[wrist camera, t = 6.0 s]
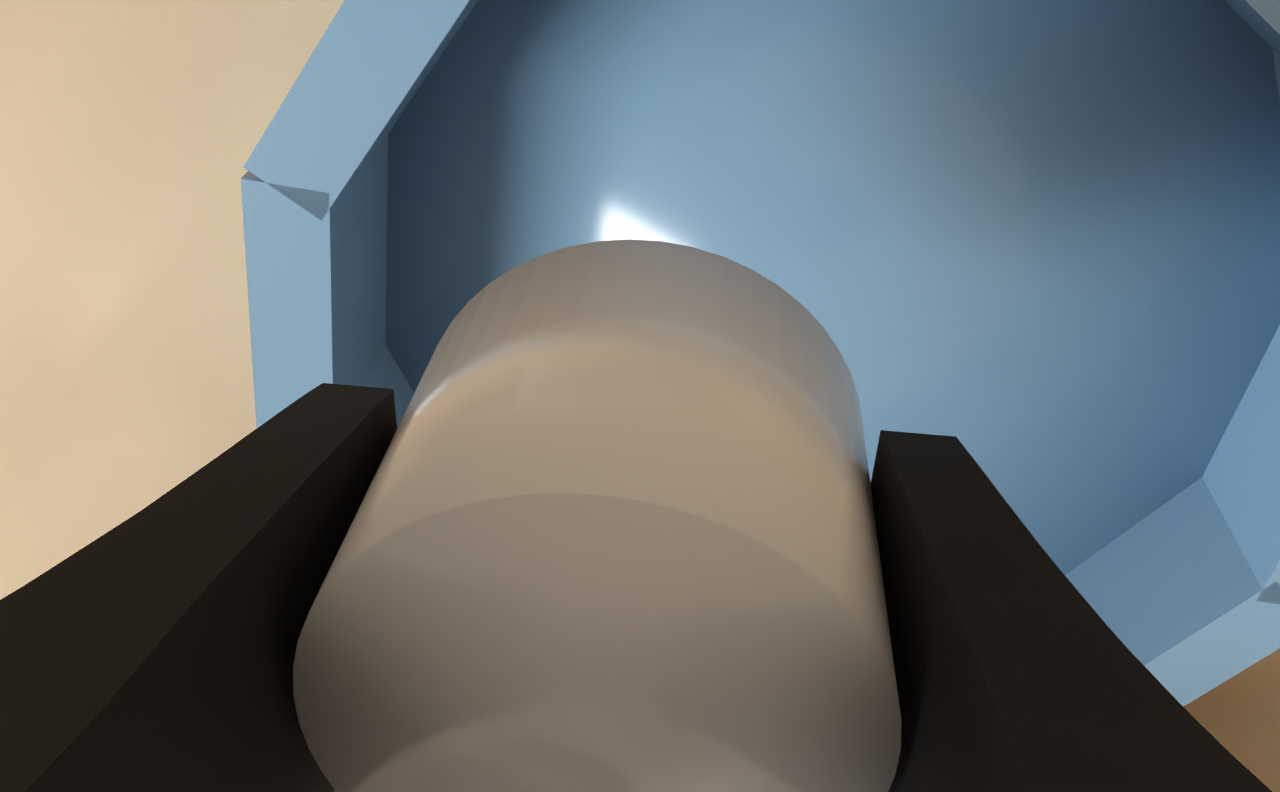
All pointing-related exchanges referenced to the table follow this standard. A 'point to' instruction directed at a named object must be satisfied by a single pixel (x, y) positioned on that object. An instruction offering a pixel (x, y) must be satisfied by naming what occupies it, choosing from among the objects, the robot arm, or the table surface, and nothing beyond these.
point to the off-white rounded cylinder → (613, 550)
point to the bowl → (852, 238)
